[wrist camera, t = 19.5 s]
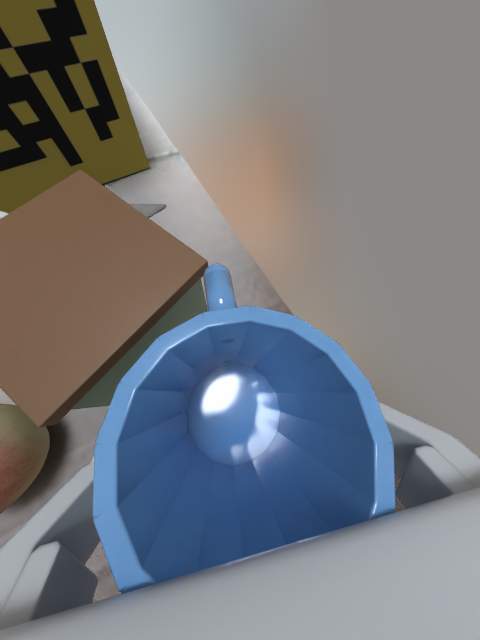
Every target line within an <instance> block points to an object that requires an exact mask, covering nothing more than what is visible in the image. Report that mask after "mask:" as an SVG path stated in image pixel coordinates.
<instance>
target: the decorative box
mask: <svg viewBox="0 0 480 640" xmlns="http://www.w3.org/2000/svg"><path fill="white" fill-rule="evenodd" d="M147 168H149V164H148V161H147V158H146V155H145V152H144V149H143V146H142V143H141V140H140V137H139V134H138V131H137V128H136V125H135V122H134V119H133V116H132V113H131V110H130V107H129V104H128V101H127V98H126V95H125V92H124V89H123V86H122V83H121V80H120V77H119V74H118V71H117V68H116V65H115V62H114V59H113V56H112V53H111V50H110V47H109V44H108V41H107V39H106V35H105V32H104V30H103V26H102V23H101V21H100V17H99V15H98V12H97V8H96V5H95V2H94V0H0V211H2V212H5V213H8V214H9V213H11V212H12V211H14V210H16V209H17V208H19V207H20V206H22V205H24V204H25V203H27V202H29V201H30V200H32V199H33V198H35V197H37V196H38V195H40V194H42V193H43V192H45V191H46V190H48V189H50V188H51V187H53V186H55V185H56V184H58V183H59V182H61V181H63V180H64V179H66V178H68V177H69V176H71V175H72V174H74V173H76V172H77V171H79V170H82V171H83V172H85V173H86V174H88V175H89V176H90V177H92V178H93V179H94V180H96V181H97V182H99V183H100V184H104V183H107V182H110V181H113V180H115V179H118V178H121V177H124V176H127V175H130V174H132V173H135V172H138V171H141V170H144V169H147Z"/></svg>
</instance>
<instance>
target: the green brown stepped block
mask: <svg viewBox="0 0 480 640" xmlns="http://www.w3.org/2000/svg"><path fill="white" fill-rule="evenodd" d="M207 267H208V262H207V260H206V259H204V258H203V257H201V256H200V255H199V254H197V253H196V252H195V251H193V250H192V249H190V248H189V247H188V246H186V245H185V244H183V243H182V242H181V241H179V240H178V239H176V238H175V237H174V236H172V235H171V234H170V233H168V232H167V231H165V230H164V229H163V228H161V227H160V226H158V225H157V224H156V223H154V222H153V221H151V220H150V219H149V218H147V217H146V216H145V215H143V214H142V213H140V212H139V211H138V210H136V209H135V208H133V207H132V206H131V205H129V204H128V203H126V202H125V201H124V200H122V199H121V198H119V197H118V196H117V195H115V194H114V193H113V192H111V191H110V190H108V189H107V188H106V187H104V186H103V185H101V184H100V183H99V182H97V181H96V180H94V179H93V178H92V177H90V176H89V175H88V174H86V173H85V172H83V171H82V170H79V171H77V172H76V173H74V174H72V175H71V176H69V177H68V178H66V179H64V180H63V181H61V182H59V183H58V184H56V185H55V186H53V187H51V188H50V189H48V190H46V191H45V192H43V193H42V194H40V195H38V196H37V197H35V198H33V199H32V200H30V201H29V202H27V203H25V204H24V205H22V206H20V207H19V208H17V209H16V210H14V211H12V212H11V213H9V214H8V215H6V216H4V217H3V218H1V219H0V388H1V389H2V390H3V391H4V392H5V393H6V394H7V395H8V396H9V397H10V398H11V399H12V400H13V402H14V403H15V404H16V405H17V406H18V407H19V408H20V409H21V410H22V411H23V412H24V413H25V414H26V415H27V416H28V417H29V418H30V419H31V420H32V421H33V422H34V423H35V424H36V425H37V427H44V426H50V425H55V424H57V423H58V422H59V421H60V420H61V419H62V418H63V417H64V416H65V415H66V414H67V413H68V412H69V411H70V410H71V409H80V408H90V407H99V406H109V405H110V404H111V401H112V399H113V396H114V393H115V391H116V388H117V386H118V384H119V382H120V381H121V379H122V378H123V377H124V376H125V374H126V373H127V372H128V371H129V370H130V369H131V367H132V366H133V365H134V364H135V363H136V362H137V360H138V359H139V358H140V357H141V356H142V355H143V354H144V352H145V351H146V350H147V349H148V348H149V347H150V345H151V344H152V343H153V342H154V341H155V340H156V339H157V338H158V337H159V336H161V335H163V334H165V333H166V332H168V331H170V330H172V329H174V328H175V327H177V326H179V325H181V324H183V323H184V322H186V321H188V320H190V319H192V318H193V317H195V316H197V315H199V314H201V313H202V314H203V313H204V312H208V311H207V306H206V301H205V297H204V292H203V287H202V282H201V277H202V276H203V275H204V272H205V270H206V268H207Z"/></svg>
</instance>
